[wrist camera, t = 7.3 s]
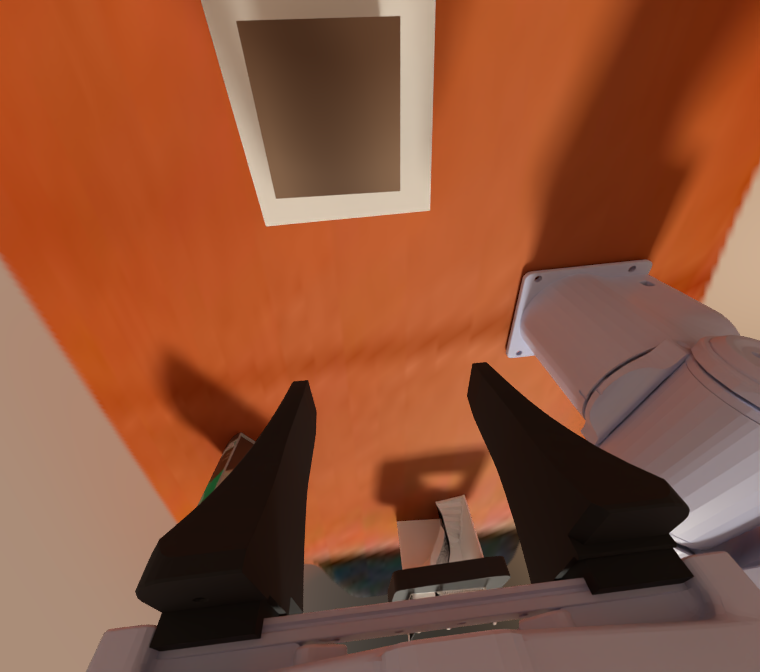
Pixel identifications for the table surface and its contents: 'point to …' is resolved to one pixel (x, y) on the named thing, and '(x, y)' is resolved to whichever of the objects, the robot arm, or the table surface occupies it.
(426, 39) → the base block
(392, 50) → the grayish beige block
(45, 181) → the table surface
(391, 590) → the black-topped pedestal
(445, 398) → the table surface
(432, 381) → the table surface
